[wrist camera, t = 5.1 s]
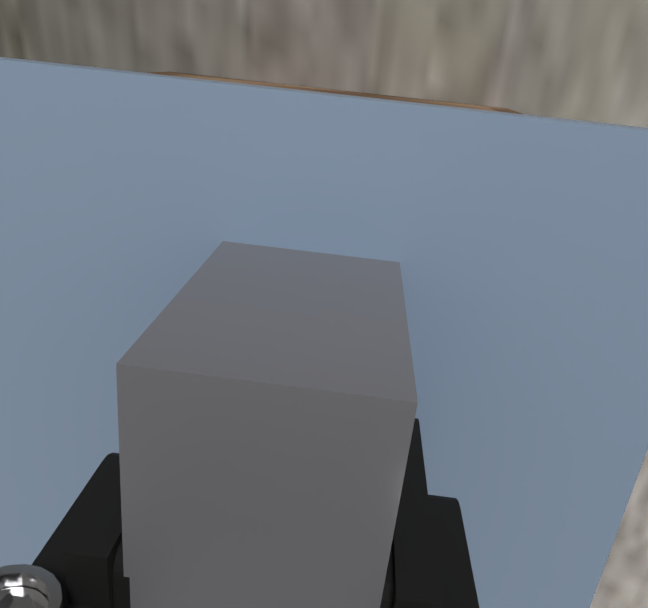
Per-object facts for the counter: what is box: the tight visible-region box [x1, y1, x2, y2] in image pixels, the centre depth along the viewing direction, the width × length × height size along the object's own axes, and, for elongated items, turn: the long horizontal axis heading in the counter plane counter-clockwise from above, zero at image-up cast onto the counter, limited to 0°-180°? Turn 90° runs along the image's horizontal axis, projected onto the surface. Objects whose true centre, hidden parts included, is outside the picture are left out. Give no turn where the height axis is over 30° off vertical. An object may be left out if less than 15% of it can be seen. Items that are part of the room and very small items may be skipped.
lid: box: [0, 57, 648, 608], centre depth 10 cm, size 13×13×7 cm
